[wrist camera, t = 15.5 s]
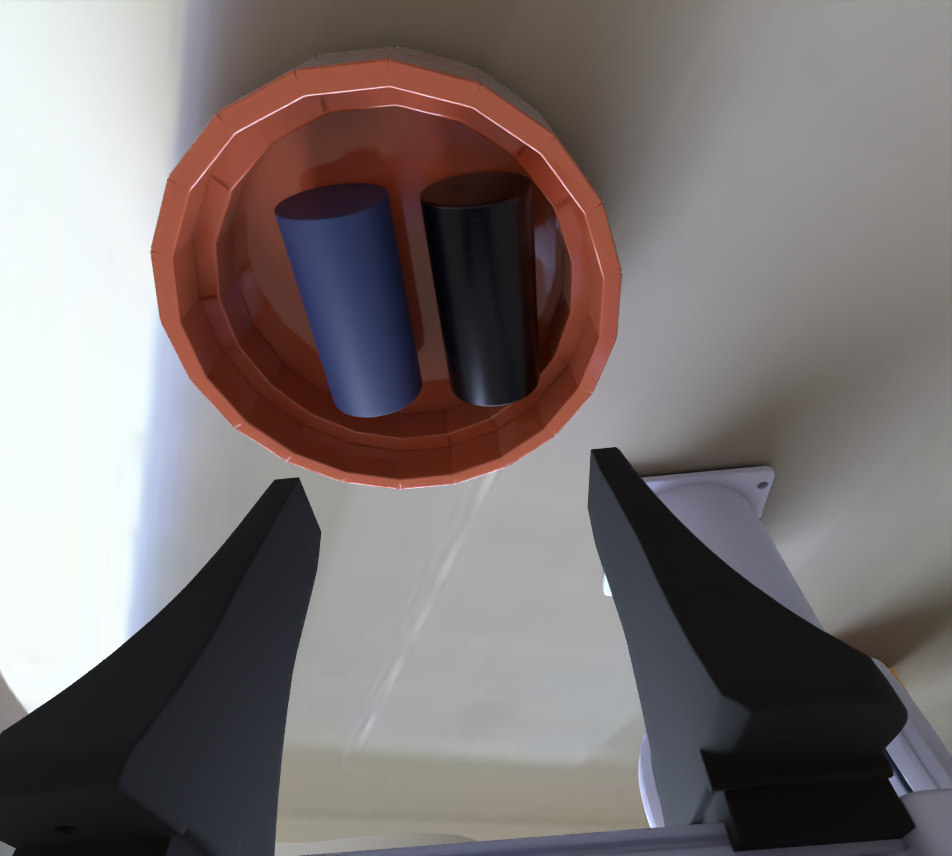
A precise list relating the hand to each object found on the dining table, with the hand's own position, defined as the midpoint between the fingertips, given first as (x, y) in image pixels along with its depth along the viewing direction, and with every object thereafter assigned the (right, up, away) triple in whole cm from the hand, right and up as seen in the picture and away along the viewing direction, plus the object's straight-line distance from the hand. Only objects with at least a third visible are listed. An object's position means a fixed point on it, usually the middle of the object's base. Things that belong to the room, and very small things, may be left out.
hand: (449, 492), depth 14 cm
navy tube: (-2, +7, +6) cm, 9 cm away
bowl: (-2, +7, +7) cm, 10 cm away
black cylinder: (0, +7, +6) cm, 9 cm away
